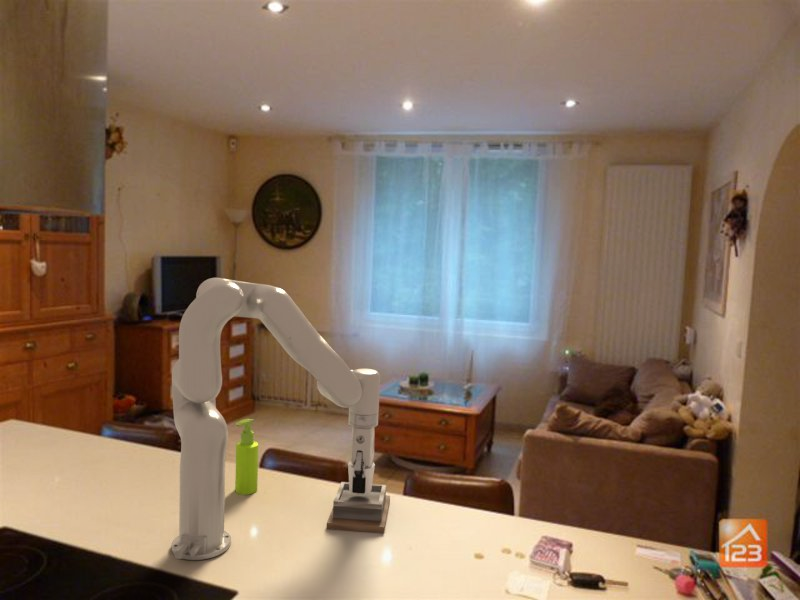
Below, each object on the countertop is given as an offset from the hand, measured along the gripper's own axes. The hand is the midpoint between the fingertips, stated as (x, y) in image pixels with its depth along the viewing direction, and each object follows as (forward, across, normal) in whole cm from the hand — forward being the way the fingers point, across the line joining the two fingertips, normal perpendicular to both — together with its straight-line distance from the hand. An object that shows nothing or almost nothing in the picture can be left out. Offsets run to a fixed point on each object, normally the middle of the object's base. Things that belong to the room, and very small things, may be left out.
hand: (360, 486), depth 150 cm
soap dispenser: (+8, +9, +33) cm, 35 cm away
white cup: (+1, 0, 0) cm, 1 cm away
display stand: (+7, 0, 0) cm, 7 cm away
